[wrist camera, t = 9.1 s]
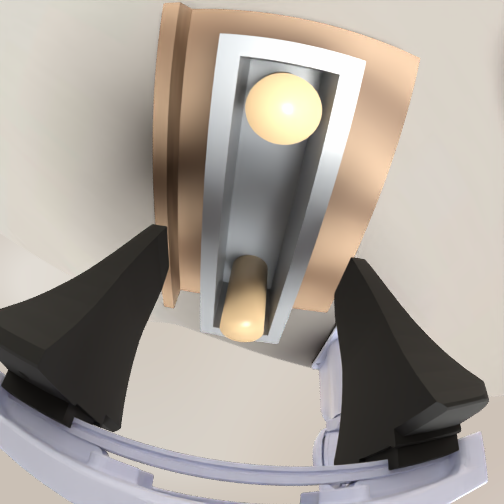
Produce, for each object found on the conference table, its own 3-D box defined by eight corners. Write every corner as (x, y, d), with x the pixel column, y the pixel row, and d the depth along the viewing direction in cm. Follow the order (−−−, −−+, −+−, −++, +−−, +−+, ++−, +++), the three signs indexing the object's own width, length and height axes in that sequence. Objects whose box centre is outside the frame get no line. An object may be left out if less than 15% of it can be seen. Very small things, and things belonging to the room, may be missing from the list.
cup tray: (279, 288, 21) (277, 357, 16) (214, 278, 21) (196, 344, 16) (337, 62, 11) (375, 61, 6) (239, 44, 11) (213, 30, 6)
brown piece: (324, 295, 24) (329, 331, 21) (177, 271, 24) (164, 306, 21) (405, 57, 11) (437, 59, 8) (189, 15, 11) (163, 3, 8)
